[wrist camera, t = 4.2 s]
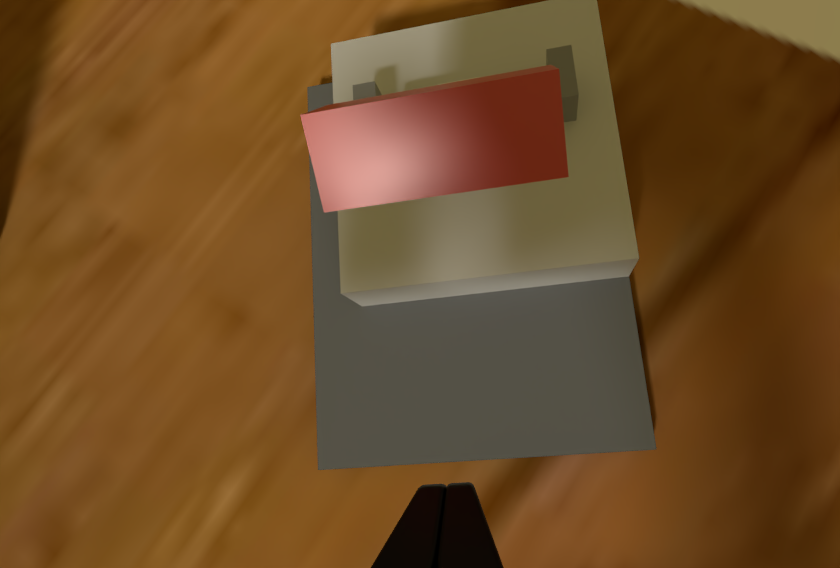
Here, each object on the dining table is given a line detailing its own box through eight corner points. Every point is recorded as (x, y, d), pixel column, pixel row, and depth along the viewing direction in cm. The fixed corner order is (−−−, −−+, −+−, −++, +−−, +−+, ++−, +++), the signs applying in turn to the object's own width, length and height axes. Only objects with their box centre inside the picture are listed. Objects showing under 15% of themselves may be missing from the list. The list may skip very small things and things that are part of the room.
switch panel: (651, 447, 21) (683, 456, 16) (327, 467, 23) (267, 480, 18) (588, 49, 25) (599, -45, 20) (316, 98, 27) (263, 26, 22)
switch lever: (539, 116, 21) (568, 177, 11) (400, 138, 22) (323, 212, 12) (533, 55, 20) (558, 68, 11) (390, 81, 21) (300, 114, 12)
